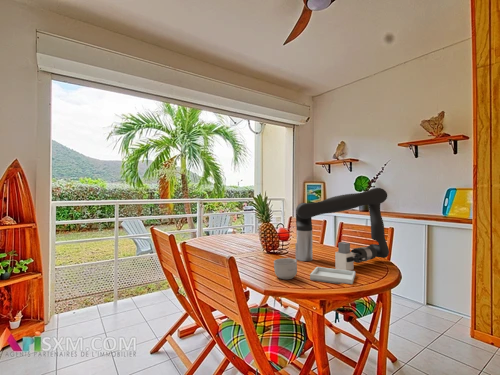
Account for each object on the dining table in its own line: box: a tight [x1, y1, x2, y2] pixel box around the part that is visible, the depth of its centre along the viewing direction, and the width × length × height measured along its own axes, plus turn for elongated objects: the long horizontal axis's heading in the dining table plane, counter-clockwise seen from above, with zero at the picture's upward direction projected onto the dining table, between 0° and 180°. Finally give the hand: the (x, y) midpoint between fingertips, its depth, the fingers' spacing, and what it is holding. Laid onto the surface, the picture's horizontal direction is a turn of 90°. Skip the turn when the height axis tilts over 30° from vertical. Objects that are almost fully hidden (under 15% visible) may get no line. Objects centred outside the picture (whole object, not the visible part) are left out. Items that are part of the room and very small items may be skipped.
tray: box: [309, 266, 356, 286], centre depth 125 cm, size 18×14×2 cm
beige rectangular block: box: [334, 251, 354, 271], centre depth 138 cm, size 6×6×9 cm
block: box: [337, 241, 351, 254], centre depth 138 cm, size 4×4×13 cm
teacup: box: [273, 257, 298, 280], centre depth 128 cm, size 14×11×8 cm
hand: (341, 258), depth 137 cm, fingers closed on beige rectangular block, 6 cm apart
